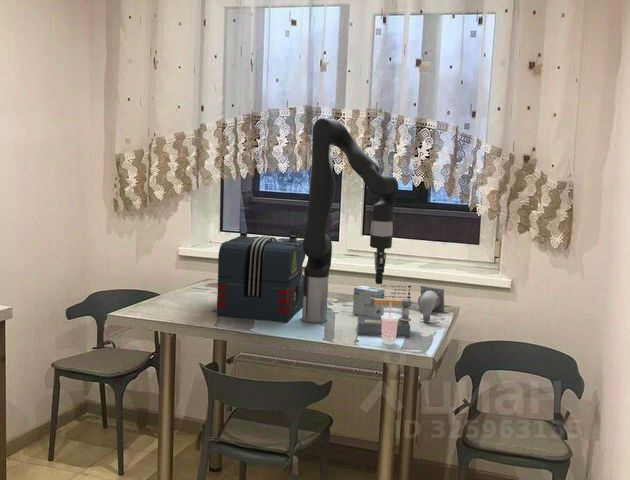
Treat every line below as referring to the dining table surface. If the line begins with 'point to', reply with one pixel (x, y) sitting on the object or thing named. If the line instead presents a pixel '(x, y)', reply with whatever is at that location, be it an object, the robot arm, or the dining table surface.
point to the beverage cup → (389, 328)
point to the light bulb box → (367, 301)
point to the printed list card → (434, 291)
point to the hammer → (387, 301)
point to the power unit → (260, 278)
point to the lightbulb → (427, 306)
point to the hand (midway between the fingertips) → (378, 282)
